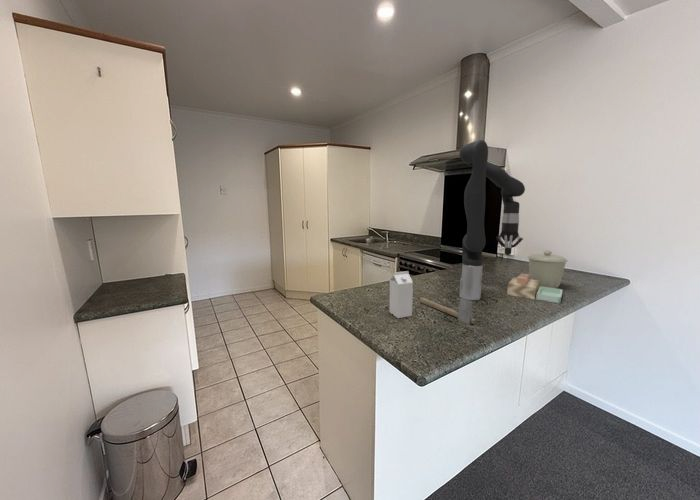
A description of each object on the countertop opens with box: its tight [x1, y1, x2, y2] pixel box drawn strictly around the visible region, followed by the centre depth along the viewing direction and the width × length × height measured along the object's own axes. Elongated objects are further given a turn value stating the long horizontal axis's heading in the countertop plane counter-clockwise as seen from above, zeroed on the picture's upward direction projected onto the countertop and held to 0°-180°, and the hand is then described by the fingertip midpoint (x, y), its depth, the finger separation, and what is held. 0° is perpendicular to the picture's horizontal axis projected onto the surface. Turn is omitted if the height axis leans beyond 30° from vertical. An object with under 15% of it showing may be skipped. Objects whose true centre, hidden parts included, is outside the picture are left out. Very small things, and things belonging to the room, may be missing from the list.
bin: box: [535, 286, 563, 305], centre depth 136 cm, size 10×16×3 cm, turn 140°
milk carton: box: [388, 270, 414, 319], centre depth 116 cm, size 7×7×19 cm
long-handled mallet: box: [419, 297, 476, 325], centre depth 118 cm, size 10×2×30 cm
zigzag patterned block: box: [506, 276, 539, 300], centre depth 143 cm, size 12×16×6 cm
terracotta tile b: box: [518, 273, 530, 282], centre depth 145 cm, size 4×5×3 cm
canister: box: [527, 249, 568, 289], centre depth 152 cm, size 18×18×21 cm
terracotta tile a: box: [516, 275, 528, 285], centre depth 140 cm, size 4×5×3 cm
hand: (507, 254), depth 143 cm, fingers closed
